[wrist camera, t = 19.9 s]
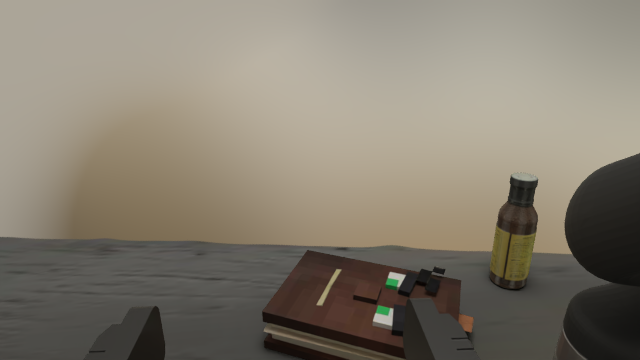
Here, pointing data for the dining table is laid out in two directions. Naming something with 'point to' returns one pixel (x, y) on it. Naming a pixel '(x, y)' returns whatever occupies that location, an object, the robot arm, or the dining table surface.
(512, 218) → the sauce bottle
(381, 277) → the decorative book
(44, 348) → the dining table surface
